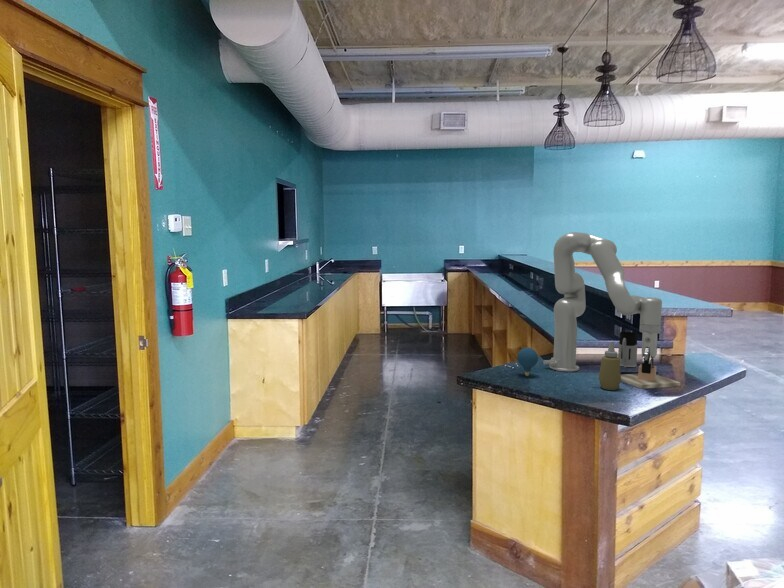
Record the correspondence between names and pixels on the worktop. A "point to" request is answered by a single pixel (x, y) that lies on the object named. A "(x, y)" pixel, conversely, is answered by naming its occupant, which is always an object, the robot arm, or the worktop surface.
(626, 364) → the glass holder
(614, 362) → the squeeze bottle
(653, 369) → the collar
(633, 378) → the base
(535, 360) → the light bulb
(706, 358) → the worktop surface
